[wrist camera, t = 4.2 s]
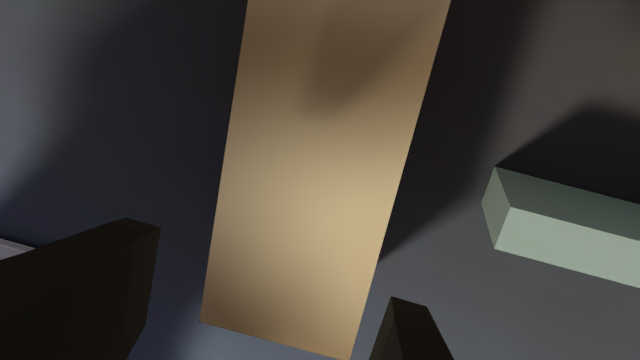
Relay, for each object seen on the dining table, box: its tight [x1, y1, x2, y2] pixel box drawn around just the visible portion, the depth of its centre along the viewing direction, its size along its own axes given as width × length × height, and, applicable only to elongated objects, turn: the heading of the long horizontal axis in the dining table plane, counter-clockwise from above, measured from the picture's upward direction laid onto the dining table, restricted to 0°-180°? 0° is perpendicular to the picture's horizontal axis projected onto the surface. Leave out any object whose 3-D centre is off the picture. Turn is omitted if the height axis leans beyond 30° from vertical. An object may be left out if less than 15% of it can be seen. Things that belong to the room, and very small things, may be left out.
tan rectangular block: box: [199, 0, 451, 360], centre depth 15 cm, size 14×4×5 cm, turn 168°
